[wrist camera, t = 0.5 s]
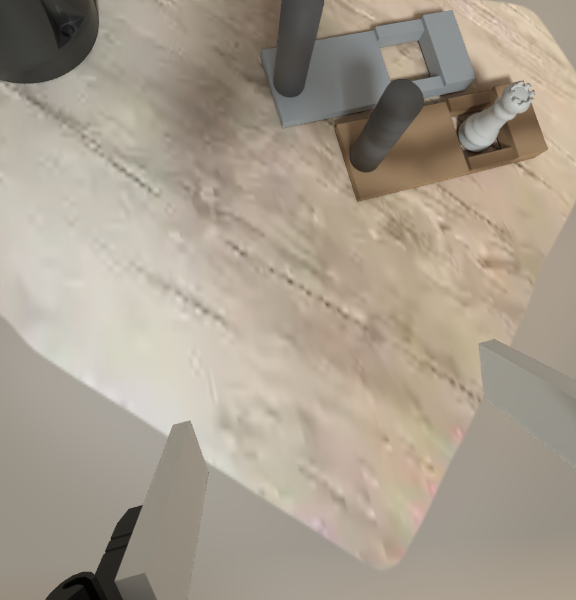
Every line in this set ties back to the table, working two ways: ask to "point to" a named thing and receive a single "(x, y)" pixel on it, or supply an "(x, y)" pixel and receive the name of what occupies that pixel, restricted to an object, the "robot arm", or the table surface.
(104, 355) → the table surface
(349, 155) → the brown board with post
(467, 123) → the rook chess piece
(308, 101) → the grey board with post
